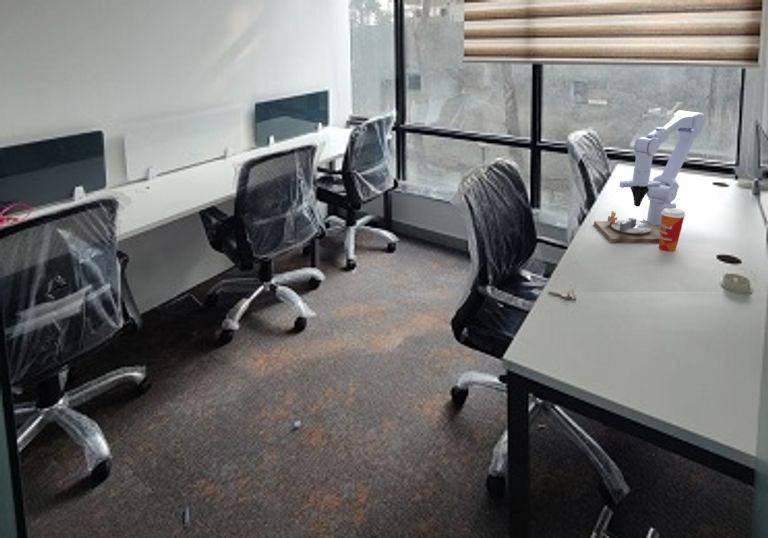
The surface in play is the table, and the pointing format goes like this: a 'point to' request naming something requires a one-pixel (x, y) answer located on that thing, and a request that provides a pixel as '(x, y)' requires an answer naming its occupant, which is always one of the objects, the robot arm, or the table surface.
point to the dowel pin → (612, 215)
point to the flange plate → (634, 229)
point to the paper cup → (670, 228)
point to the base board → (627, 238)
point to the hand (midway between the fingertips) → (636, 205)
